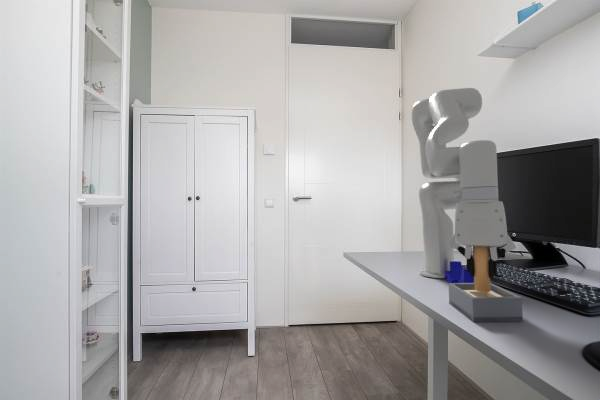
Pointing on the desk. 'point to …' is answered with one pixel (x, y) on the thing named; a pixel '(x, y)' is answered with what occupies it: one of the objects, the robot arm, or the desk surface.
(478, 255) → the peg
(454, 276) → the cable clip
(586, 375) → the desk surface
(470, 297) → the box
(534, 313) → the desk surface
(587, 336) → the desk surface
